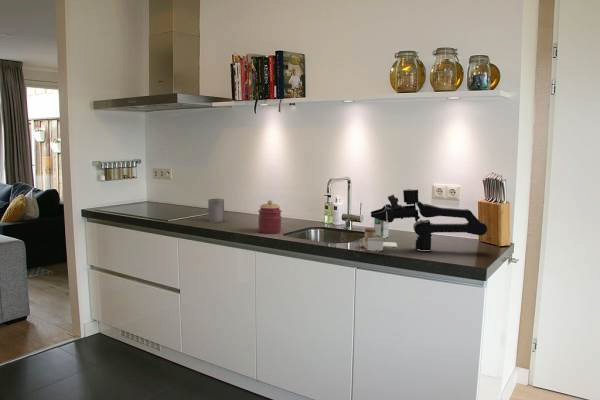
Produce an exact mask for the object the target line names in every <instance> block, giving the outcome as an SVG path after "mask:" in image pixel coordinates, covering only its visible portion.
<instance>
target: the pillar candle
mask: <svg viewBox="0 0 600 400" xmlns="http://www.w3.org/2000/svg"><path fill="white" fill-rule="evenodd" d="M207 201H208V206H207V207H208V222H209V223H223V222H225V199H224V198H210V199H208V200H207Z"/></svg>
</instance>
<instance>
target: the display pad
mask: <svg viewBox="0 0 600 400" xmlns="http://www.w3.org/2000/svg"><path fill="white" fill-rule="evenodd" d="M384 246H385V247H397V248H398V244H397V242H390V241H383V247H384Z"/></svg>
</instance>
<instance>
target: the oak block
mask: <svg viewBox="0 0 600 400" xmlns="http://www.w3.org/2000/svg"><path fill="white" fill-rule="evenodd" d="M375 232H376V229H375V228H374V227H364V247H368V238H375Z"/></svg>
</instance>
